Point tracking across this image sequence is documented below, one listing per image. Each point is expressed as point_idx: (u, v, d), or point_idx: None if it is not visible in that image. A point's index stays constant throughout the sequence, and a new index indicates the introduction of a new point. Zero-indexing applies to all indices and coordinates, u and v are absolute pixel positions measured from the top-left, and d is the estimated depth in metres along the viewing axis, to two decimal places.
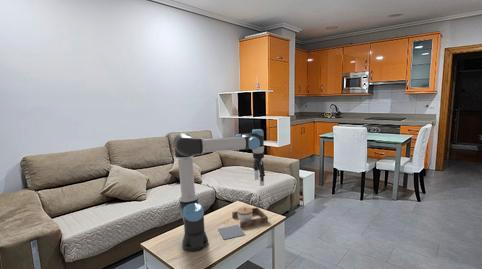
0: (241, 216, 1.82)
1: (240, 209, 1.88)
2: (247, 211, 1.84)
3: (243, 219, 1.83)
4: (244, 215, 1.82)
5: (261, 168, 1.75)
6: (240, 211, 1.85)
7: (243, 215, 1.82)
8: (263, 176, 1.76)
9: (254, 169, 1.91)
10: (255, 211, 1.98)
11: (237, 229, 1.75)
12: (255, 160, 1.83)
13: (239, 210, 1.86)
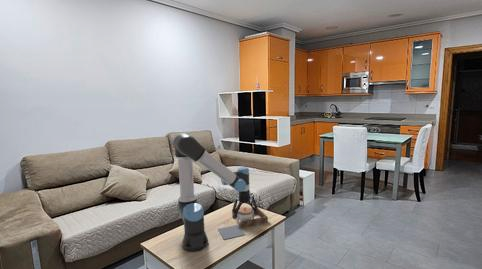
0: (241, 216, 1.82)
1: (240, 209, 1.88)
2: (247, 211, 1.84)
3: (243, 219, 1.83)
4: (244, 215, 1.82)
5: (234, 205, 1.84)
6: (240, 211, 1.85)
7: (243, 215, 1.82)
8: (235, 213, 1.83)
9: None
10: (255, 211, 1.98)
11: (237, 229, 1.75)
12: None
13: (239, 210, 1.86)
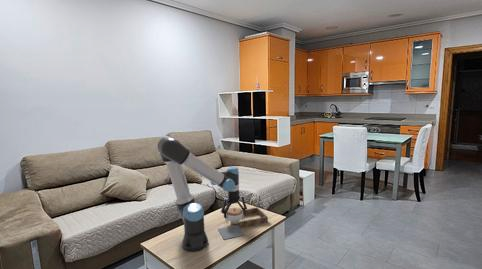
0: (230, 217, 1.80)
1: (229, 209, 1.85)
2: (236, 212, 1.81)
3: (232, 220, 1.80)
4: (233, 216, 1.79)
5: (223, 205, 1.81)
6: (229, 211, 1.82)
7: (232, 216, 1.79)
8: (224, 213, 1.81)
9: (242, 208, 1.87)
10: (255, 211, 1.98)
11: (237, 229, 1.75)
12: None
13: (228, 210, 1.83)
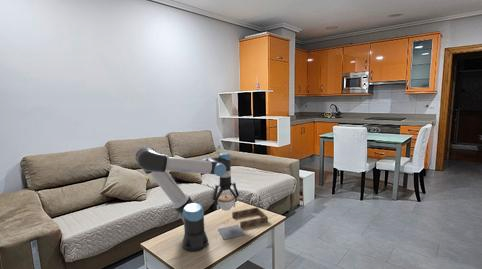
0: (221, 203, 1.76)
1: (221, 196, 1.82)
2: (228, 198, 1.78)
3: (223, 206, 1.76)
4: (224, 202, 1.75)
5: (214, 191, 1.77)
6: (221, 198, 1.78)
7: (223, 202, 1.76)
8: (215, 200, 1.77)
9: (234, 195, 1.84)
10: (255, 211, 1.98)
11: (237, 229, 1.75)
12: None
13: (220, 197, 1.80)
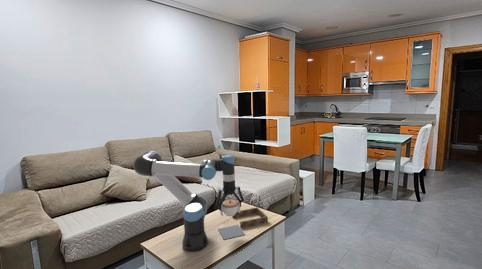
0: (225, 209, 1.66)
1: (225, 201, 1.71)
2: (232, 203, 1.67)
3: (228, 212, 1.66)
4: (229, 208, 1.65)
5: None
6: (225, 203, 1.68)
7: (228, 208, 1.65)
8: (219, 205, 1.67)
9: None
10: (255, 211, 1.98)
11: (237, 229, 1.75)
12: None
13: (224, 202, 1.70)
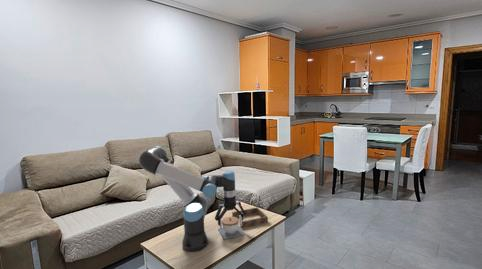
0: (226, 227, 1.67)
1: (225, 219, 1.73)
2: (232, 221, 1.69)
3: (228, 230, 1.67)
4: (229, 226, 1.67)
5: (217, 211, 1.68)
6: (225, 221, 1.70)
7: (228, 226, 1.67)
8: (218, 220, 1.68)
9: None
10: (255, 211, 1.98)
11: (237, 229, 1.75)
12: None
13: (224, 220, 1.71)
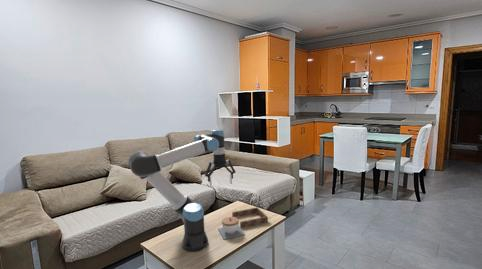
0: (226, 227, 1.67)
1: (225, 219, 1.73)
2: (232, 221, 1.69)
3: (228, 230, 1.67)
4: (229, 226, 1.67)
5: (207, 168, 1.74)
6: (225, 221, 1.70)
7: (228, 226, 1.67)
8: None
9: None
10: (255, 211, 1.98)
11: (237, 229, 1.75)
12: None
13: (224, 220, 1.71)
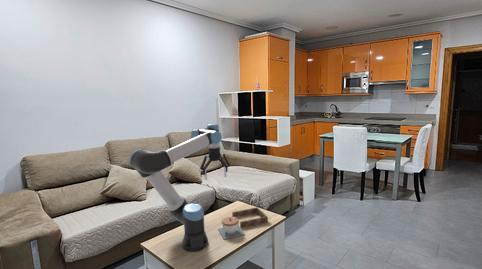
0: (226, 227, 1.67)
1: (225, 219, 1.73)
2: (232, 221, 1.69)
3: (228, 230, 1.67)
4: (229, 226, 1.67)
5: None
6: (225, 221, 1.70)
7: (228, 226, 1.67)
8: (203, 170, 1.78)
9: (225, 165, 1.85)
10: (255, 211, 1.98)
11: (237, 229, 1.75)
12: None
13: (224, 220, 1.71)
